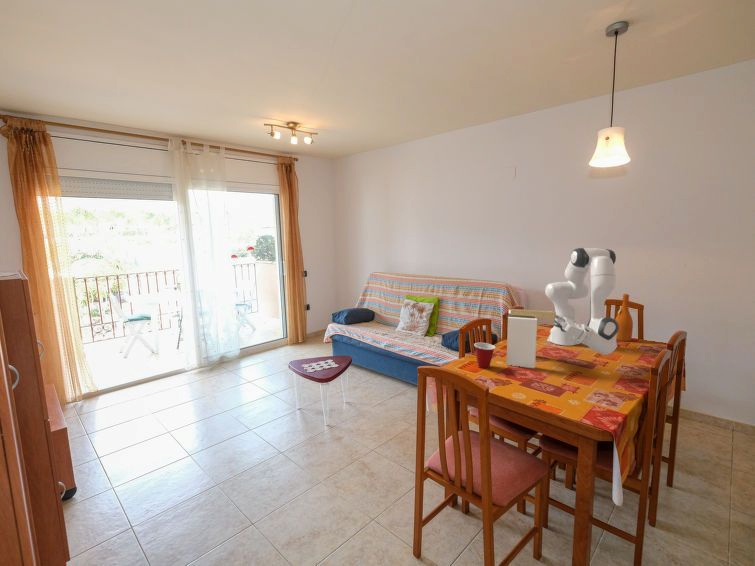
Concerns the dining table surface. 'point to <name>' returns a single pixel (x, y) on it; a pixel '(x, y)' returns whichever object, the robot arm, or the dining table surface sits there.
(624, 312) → the wine bottle
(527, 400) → the dining table surface
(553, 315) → the light wood bar
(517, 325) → the white upright block
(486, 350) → the plastic cup
